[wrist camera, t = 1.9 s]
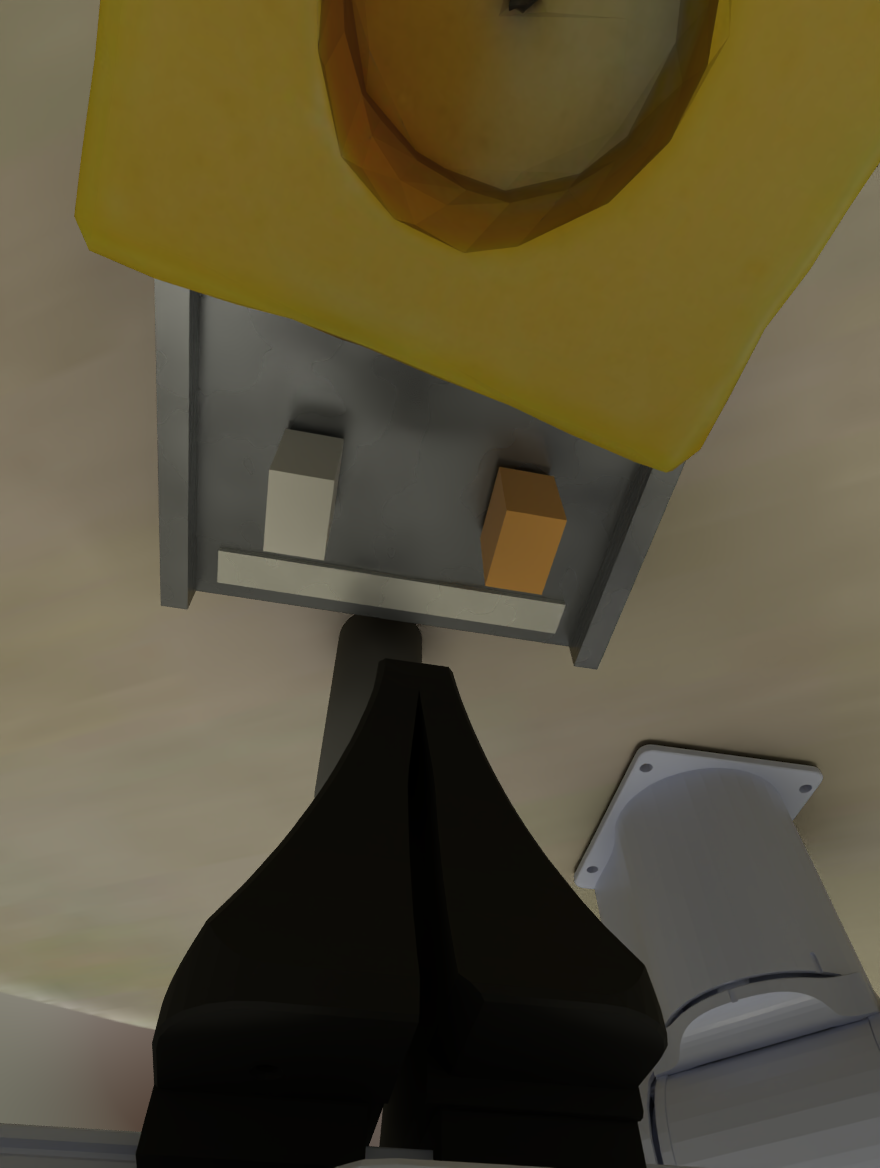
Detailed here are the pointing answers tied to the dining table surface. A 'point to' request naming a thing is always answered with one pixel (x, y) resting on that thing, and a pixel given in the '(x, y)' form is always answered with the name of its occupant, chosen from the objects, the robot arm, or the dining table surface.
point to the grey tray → (377, 483)
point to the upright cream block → (302, 494)
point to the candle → (494, 182)
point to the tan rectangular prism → (521, 531)
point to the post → (360, 678)
